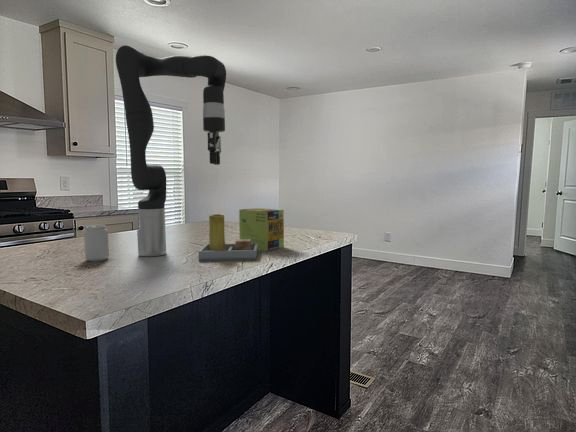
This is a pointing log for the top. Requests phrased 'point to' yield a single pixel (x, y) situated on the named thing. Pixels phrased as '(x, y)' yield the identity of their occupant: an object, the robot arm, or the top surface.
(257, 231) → the protein box
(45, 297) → the top surface
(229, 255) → the tray
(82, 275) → the top surface
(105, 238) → the can
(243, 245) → the walnut cube
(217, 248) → the vase
